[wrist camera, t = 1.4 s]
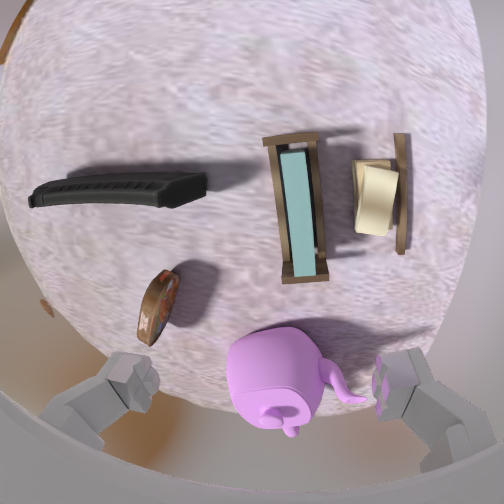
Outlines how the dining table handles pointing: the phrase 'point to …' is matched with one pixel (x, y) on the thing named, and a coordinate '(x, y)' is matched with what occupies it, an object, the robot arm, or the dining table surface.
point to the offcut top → (376, 201)
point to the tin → (157, 306)
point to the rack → (320, 258)
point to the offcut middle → (360, 171)
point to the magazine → (123, 189)
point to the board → (299, 211)
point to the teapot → (281, 379)
